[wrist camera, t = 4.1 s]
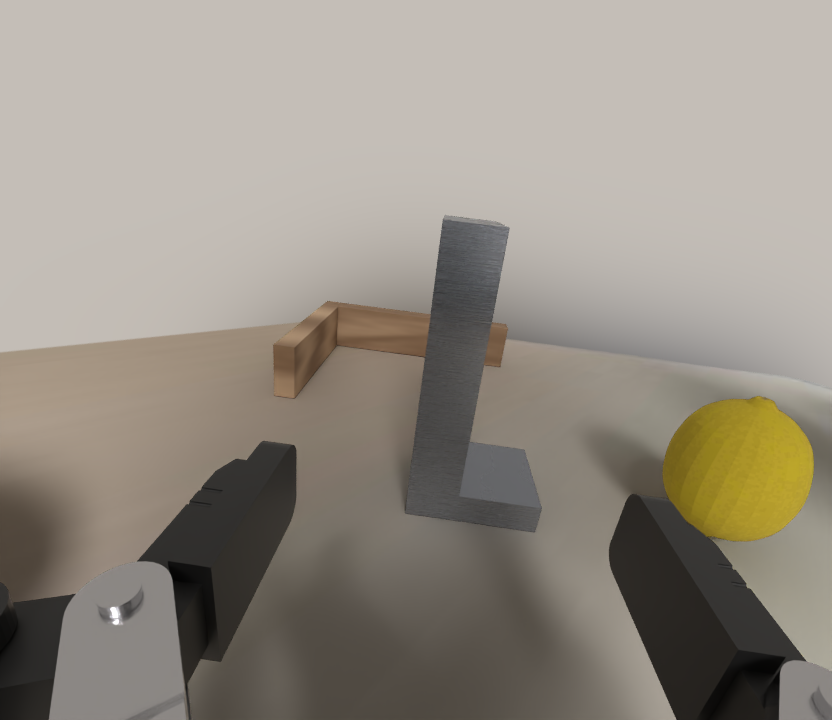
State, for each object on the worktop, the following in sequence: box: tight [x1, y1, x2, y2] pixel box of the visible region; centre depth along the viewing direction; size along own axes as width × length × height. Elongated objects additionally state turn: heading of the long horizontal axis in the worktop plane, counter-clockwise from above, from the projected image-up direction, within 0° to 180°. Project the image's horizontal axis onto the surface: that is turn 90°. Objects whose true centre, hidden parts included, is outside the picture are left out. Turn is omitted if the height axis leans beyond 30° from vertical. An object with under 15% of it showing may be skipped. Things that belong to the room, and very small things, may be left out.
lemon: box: [663, 396, 814, 541], centre depth 20 cm, size 6×6×8 cm
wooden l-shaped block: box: [273, 301, 508, 398], centre depth 35 cm, size 14×18×4 cm
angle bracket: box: [405, 215, 542, 532], centre depth 20 cm, size 5×6×14 cm
